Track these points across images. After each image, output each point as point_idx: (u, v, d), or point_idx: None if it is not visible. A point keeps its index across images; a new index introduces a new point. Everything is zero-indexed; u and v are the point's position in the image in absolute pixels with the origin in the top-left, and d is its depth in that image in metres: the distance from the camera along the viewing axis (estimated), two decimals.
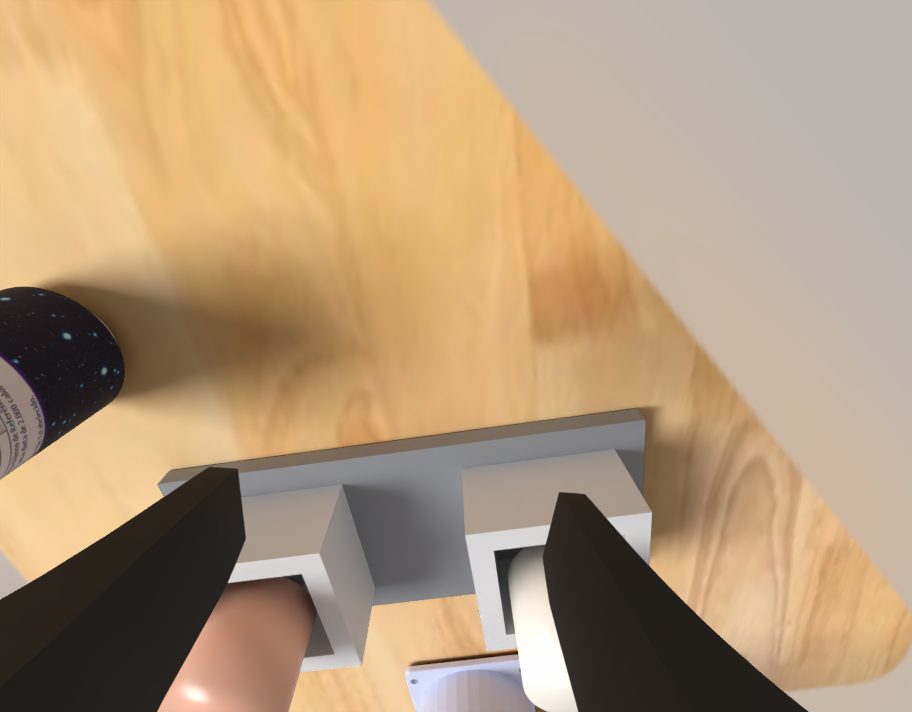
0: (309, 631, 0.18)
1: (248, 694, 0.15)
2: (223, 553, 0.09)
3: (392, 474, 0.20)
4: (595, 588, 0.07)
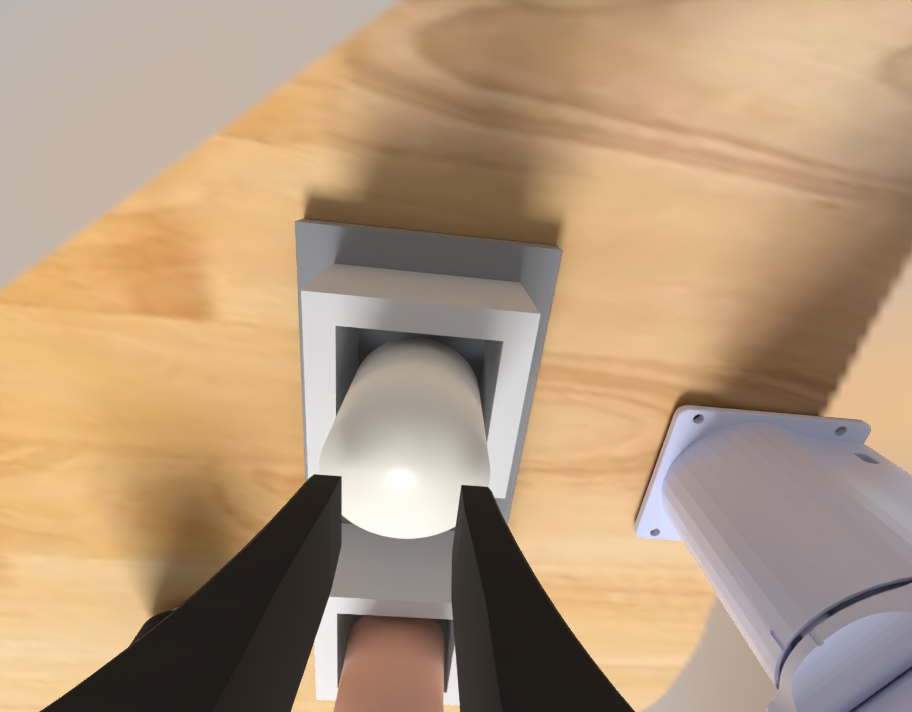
0: (406, 631, 0.18)
1: None
2: (330, 560, 0.09)
3: None
4: (471, 581, 0.07)
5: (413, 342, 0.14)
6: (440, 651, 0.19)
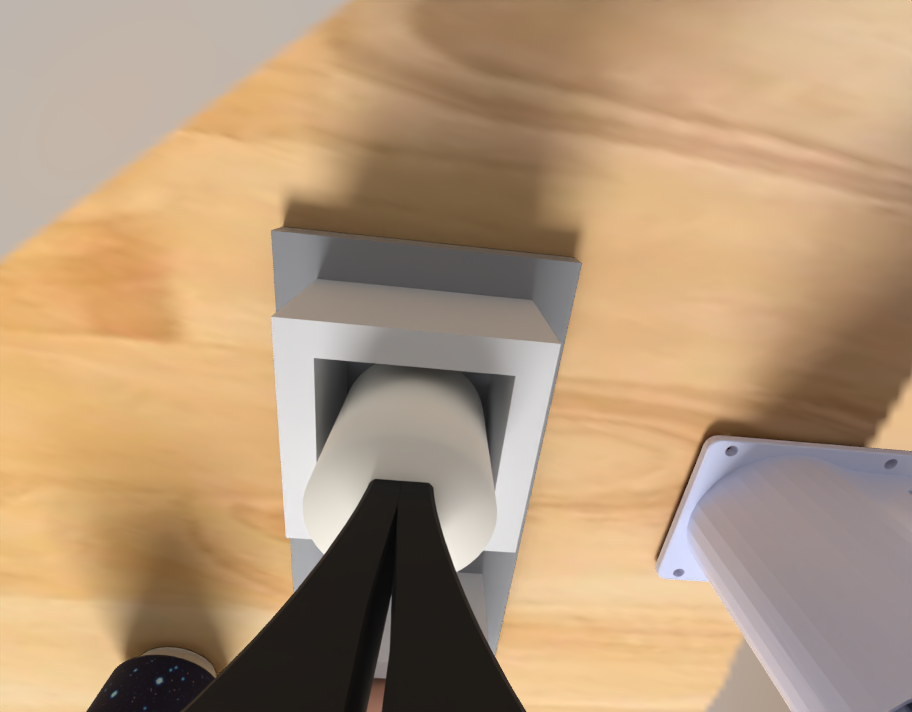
0: None
1: None
2: (393, 564, 0.09)
3: None
4: (395, 576, 0.07)
5: None
6: None
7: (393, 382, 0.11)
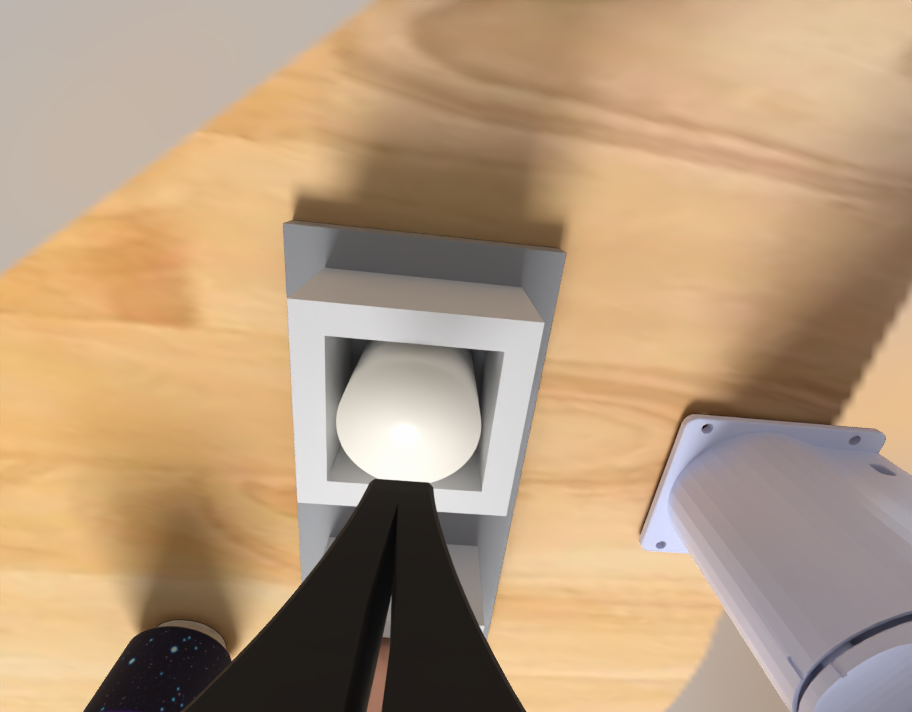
0: None
1: None
2: (393, 564, 0.09)
3: None
4: (395, 576, 0.07)
5: None
6: None
7: None
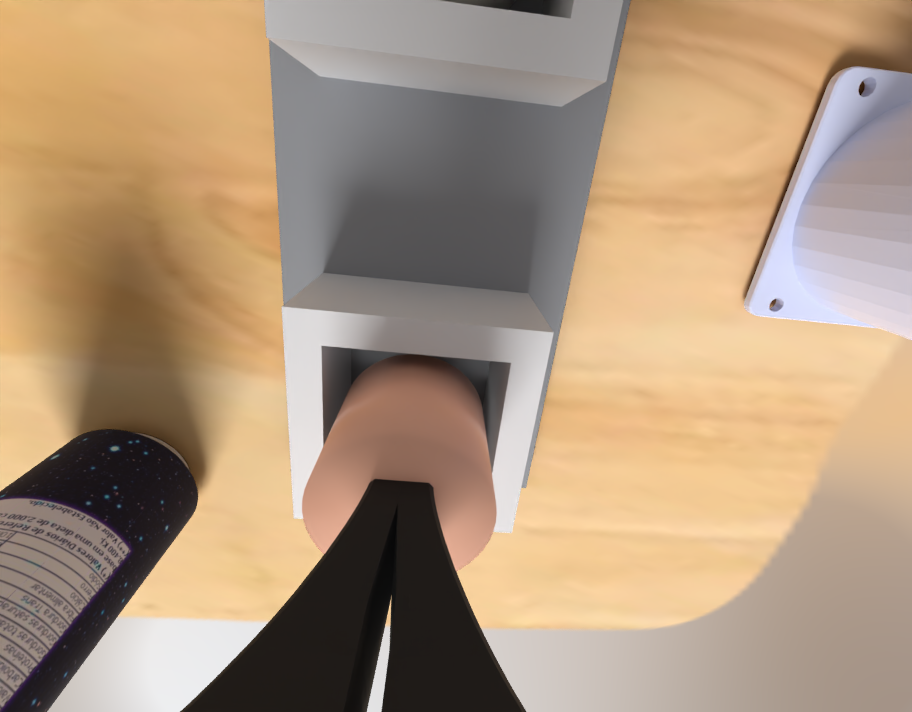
0: (430, 372, 0.12)
1: (345, 460, 0.09)
2: (393, 564, 0.09)
3: (315, 195, 0.14)
4: (395, 576, 0.07)
5: None
6: (481, 414, 0.12)
7: None
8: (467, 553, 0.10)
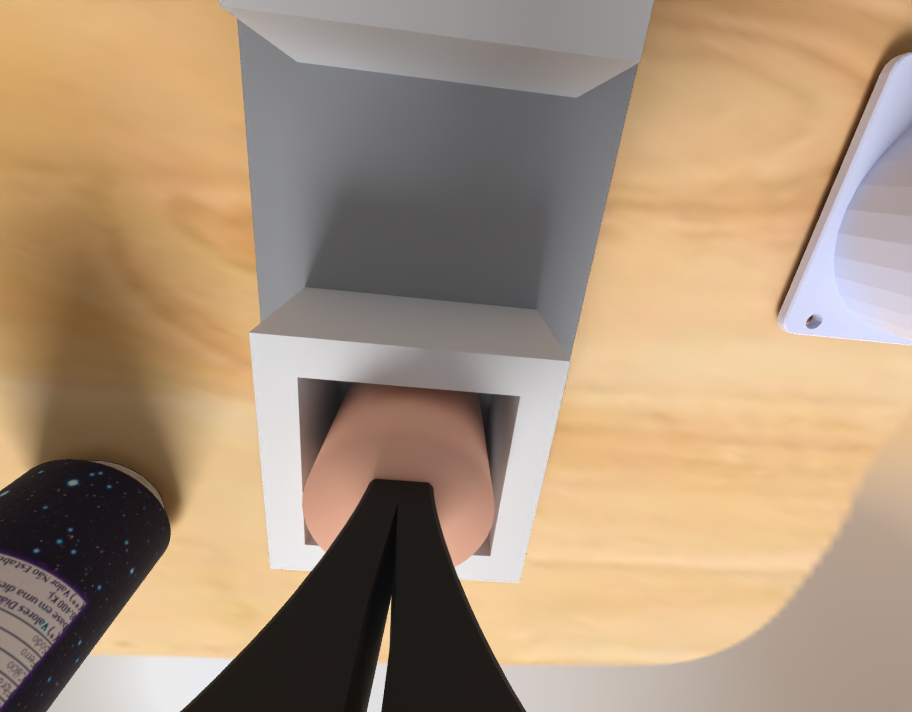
0: None
1: (345, 457, 0.09)
2: (393, 564, 0.09)
3: (294, 200, 0.12)
4: (395, 576, 0.07)
5: None
6: (479, 412, 0.12)
7: None
8: (465, 549, 0.10)
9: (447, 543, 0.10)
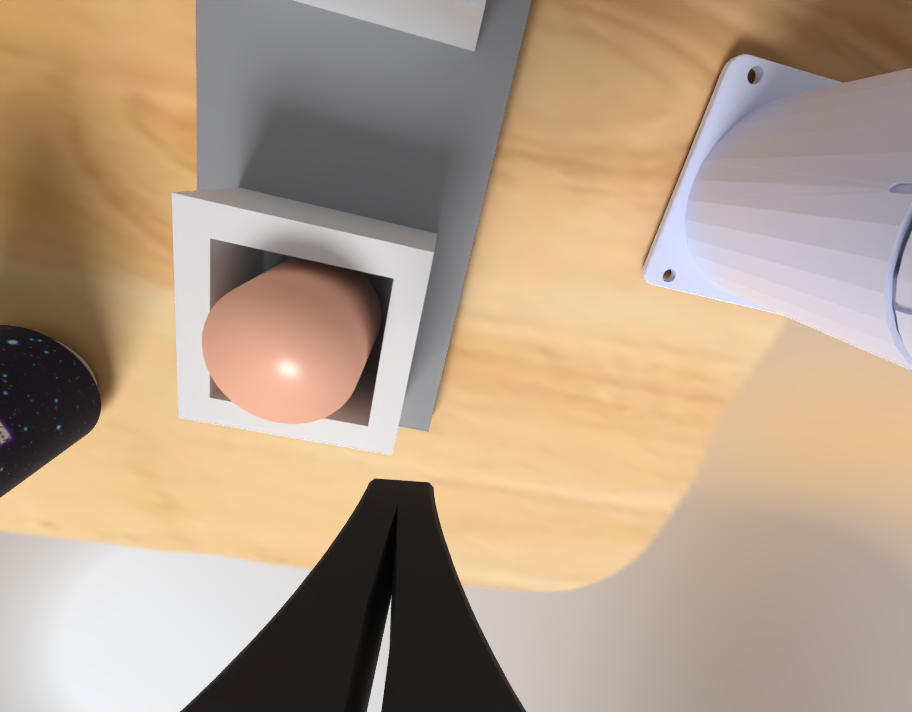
0: None
1: (238, 300, 0.11)
2: (393, 563, 0.09)
3: (234, 107, 0.14)
4: (395, 576, 0.07)
5: None
6: (374, 307, 0.15)
7: None
8: (336, 399, 0.13)
9: (322, 392, 0.13)
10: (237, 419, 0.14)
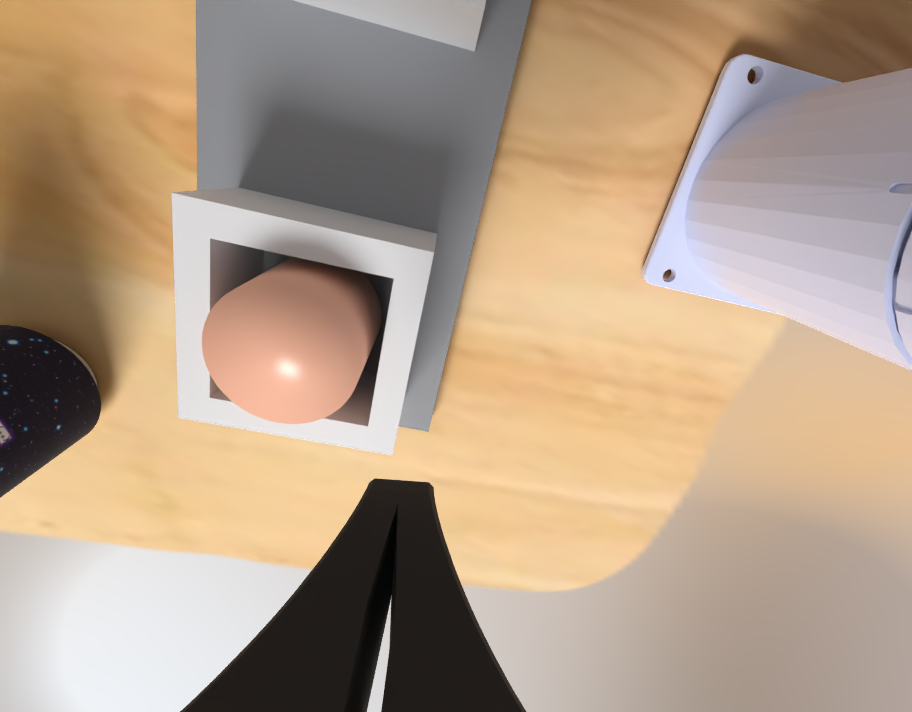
0: None
1: (238, 300, 0.11)
2: (393, 563, 0.09)
3: (234, 107, 0.14)
4: (395, 576, 0.07)
5: None
6: (374, 307, 0.15)
7: None
8: (336, 399, 0.13)
9: (322, 392, 0.13)
10: (237, 419, 0.14)
